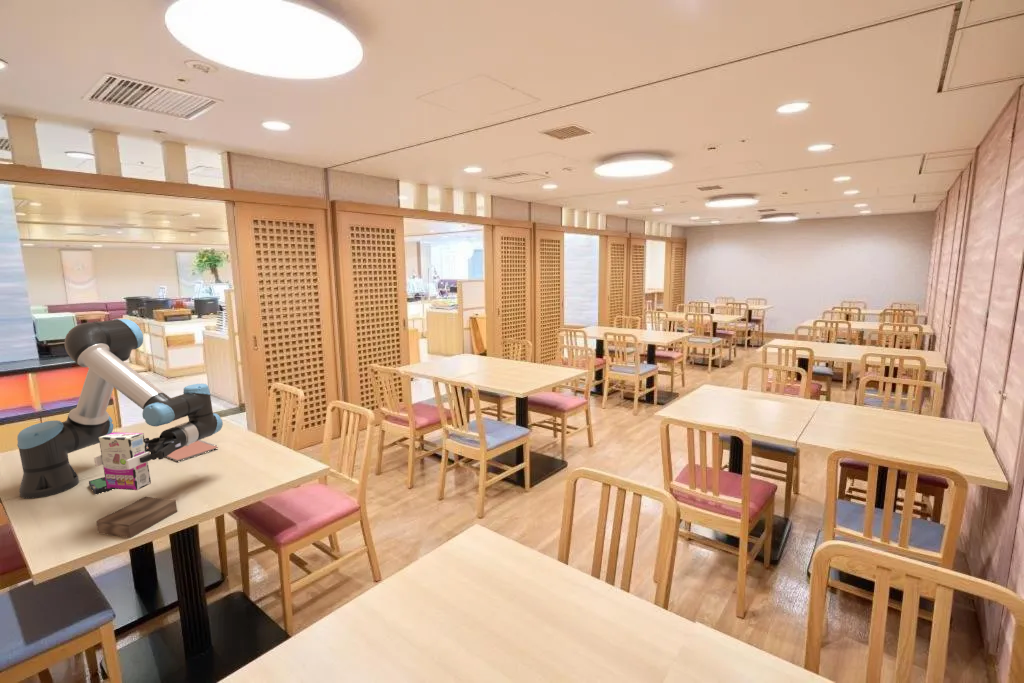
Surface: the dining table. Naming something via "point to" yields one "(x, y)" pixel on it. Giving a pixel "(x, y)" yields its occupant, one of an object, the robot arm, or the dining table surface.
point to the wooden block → (136, 517)
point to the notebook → (191, 450)
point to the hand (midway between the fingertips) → (111, 463)
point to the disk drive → (98, 485)
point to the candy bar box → (123, 460)
